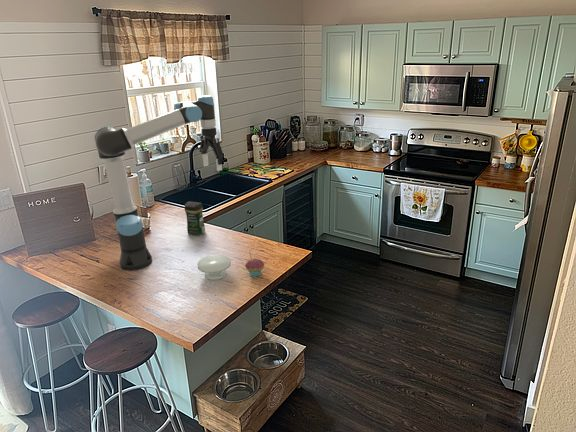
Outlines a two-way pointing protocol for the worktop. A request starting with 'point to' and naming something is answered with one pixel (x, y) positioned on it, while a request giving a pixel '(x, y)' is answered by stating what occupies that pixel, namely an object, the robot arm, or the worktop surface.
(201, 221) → the coffee jar
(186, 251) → the worktop surface
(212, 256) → the cake stand
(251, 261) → the cupcake
